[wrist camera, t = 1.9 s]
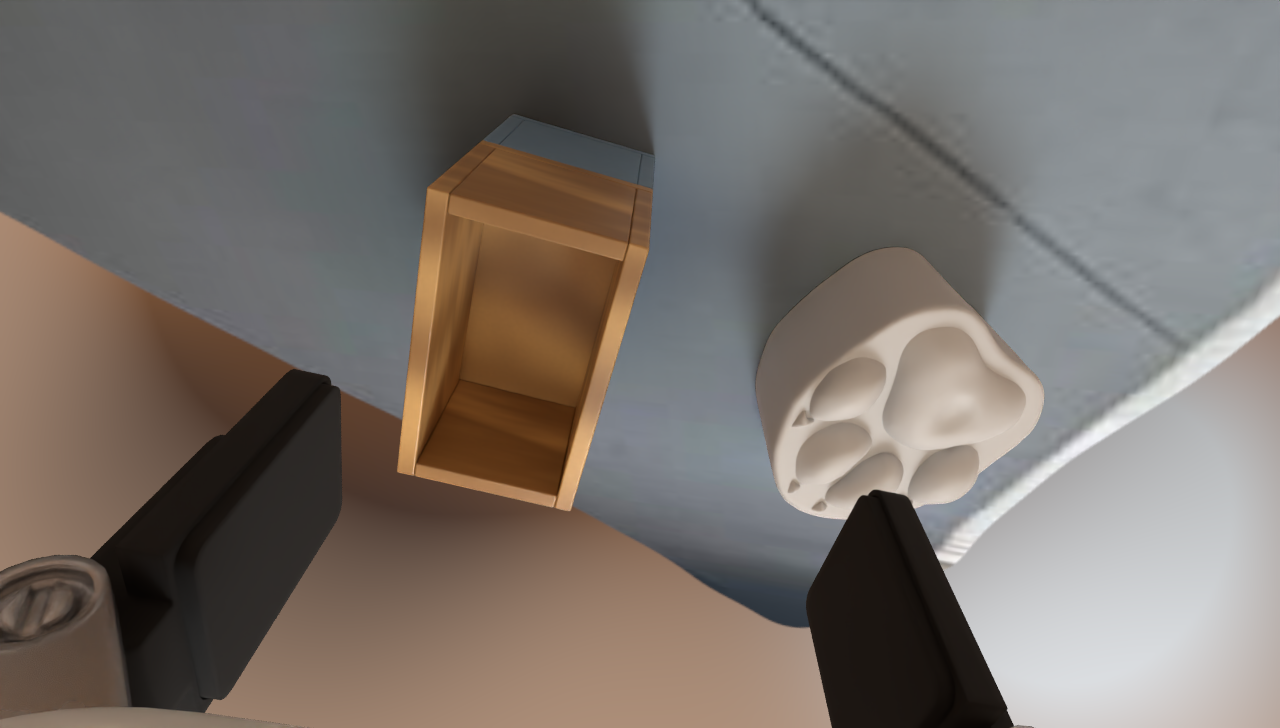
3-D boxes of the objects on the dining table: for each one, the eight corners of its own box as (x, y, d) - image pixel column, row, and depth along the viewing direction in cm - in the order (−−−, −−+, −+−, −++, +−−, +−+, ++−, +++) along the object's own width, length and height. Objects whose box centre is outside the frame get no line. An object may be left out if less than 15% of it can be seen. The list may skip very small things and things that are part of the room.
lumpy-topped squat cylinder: (1005, 341, 36) (1092, 433, 29) (826, 471, 42) (861, 577, 34) (890, 221, 33) (954, 291, 26) (712, 379, 38) (722, 474, 31)
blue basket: (598, 356, 38) (587, 415, 33) (477, 325, 37) (446, 380, 32) (655, 155, 32) (653, 188, 27) (512, 113, 31) (482, 139, 26)
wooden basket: (587, 415, 33) (570, 512, 27) (446, 380, 32) (396, 472, 26) (653, 188, 27) (649, 248, 21) (482, 139, 26) (426, 186, 20)
